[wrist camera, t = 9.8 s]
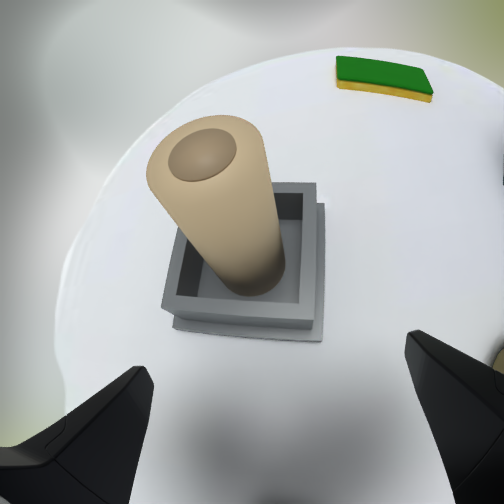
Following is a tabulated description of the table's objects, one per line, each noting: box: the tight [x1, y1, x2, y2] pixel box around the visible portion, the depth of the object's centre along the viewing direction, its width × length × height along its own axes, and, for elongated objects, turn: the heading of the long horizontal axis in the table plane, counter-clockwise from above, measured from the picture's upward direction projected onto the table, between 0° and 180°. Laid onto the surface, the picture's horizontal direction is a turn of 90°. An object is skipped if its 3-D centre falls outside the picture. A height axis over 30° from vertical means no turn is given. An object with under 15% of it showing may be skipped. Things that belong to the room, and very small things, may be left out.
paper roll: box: [146, 115, 286, 297], centre depth 18 cm, size 6×6×13 cm
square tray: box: [161, 182, 325, 342], centre depth 23 cm, size 12×12×5 cm
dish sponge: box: [336, 56, 433, 103], centre depth 33 cm, size 7×14×2 cm, turn 79°
